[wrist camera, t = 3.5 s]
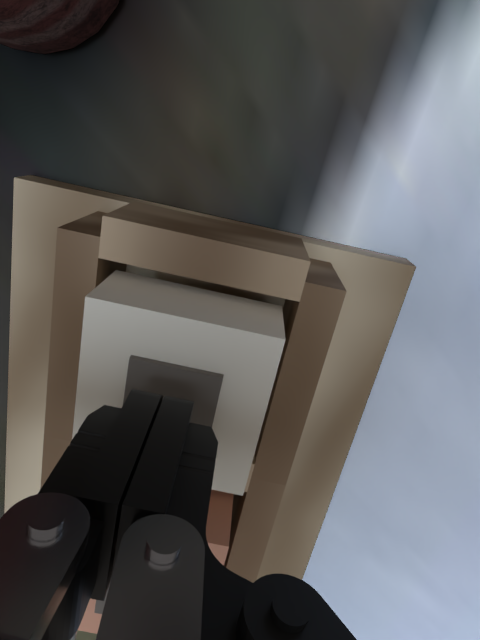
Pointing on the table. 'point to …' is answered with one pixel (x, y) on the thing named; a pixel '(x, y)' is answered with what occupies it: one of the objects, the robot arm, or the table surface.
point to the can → (51, 23)
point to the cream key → (183, 359)
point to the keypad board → (220, 276)
